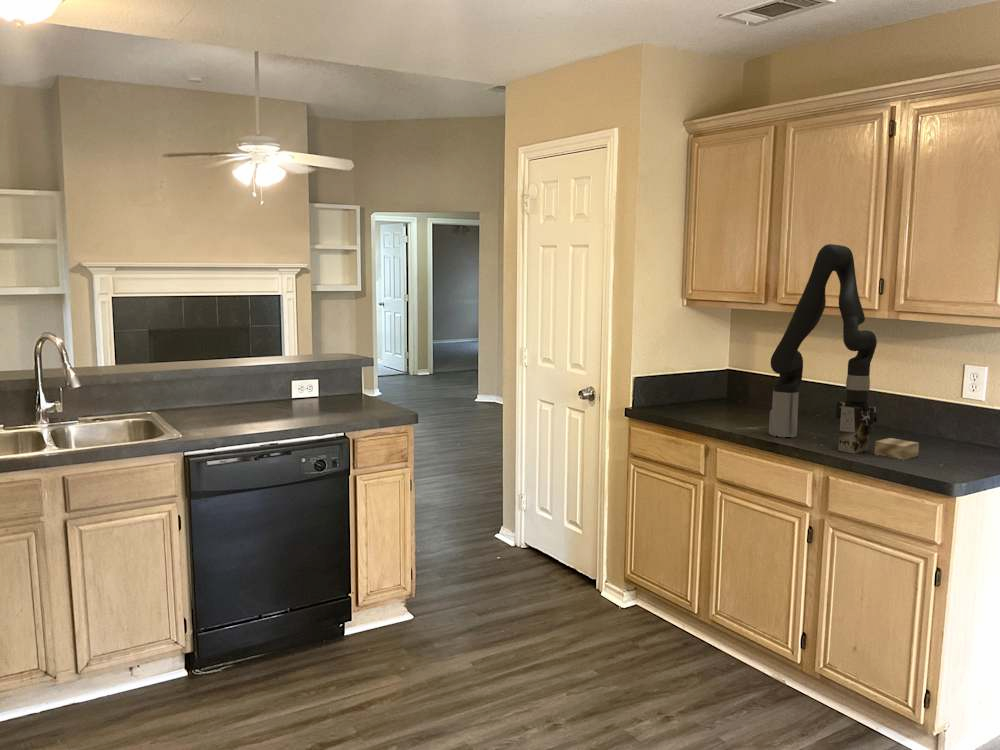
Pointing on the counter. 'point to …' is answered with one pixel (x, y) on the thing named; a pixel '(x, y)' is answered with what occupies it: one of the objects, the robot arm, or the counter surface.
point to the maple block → (896, 448)
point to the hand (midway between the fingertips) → (855, 433)
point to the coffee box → (852, 430)
